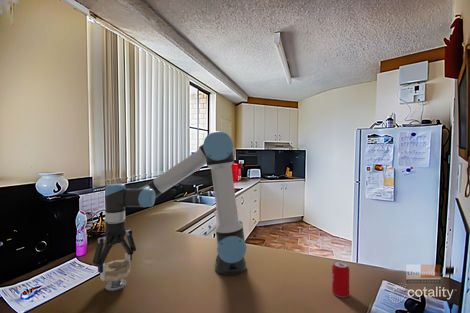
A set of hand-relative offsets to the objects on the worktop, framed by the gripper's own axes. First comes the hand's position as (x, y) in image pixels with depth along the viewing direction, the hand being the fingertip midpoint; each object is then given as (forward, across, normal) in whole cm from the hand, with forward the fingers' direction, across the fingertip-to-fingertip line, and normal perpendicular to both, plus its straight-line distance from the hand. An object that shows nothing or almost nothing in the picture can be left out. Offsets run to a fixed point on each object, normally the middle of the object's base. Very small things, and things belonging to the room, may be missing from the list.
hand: (115, 274), depth 102 cm
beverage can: (+5, -47, +78) cm, 92 cm away
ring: (0, 0, 0) cm, 0 cm away
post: (+5, 0, 0) cm, 5 cm away
